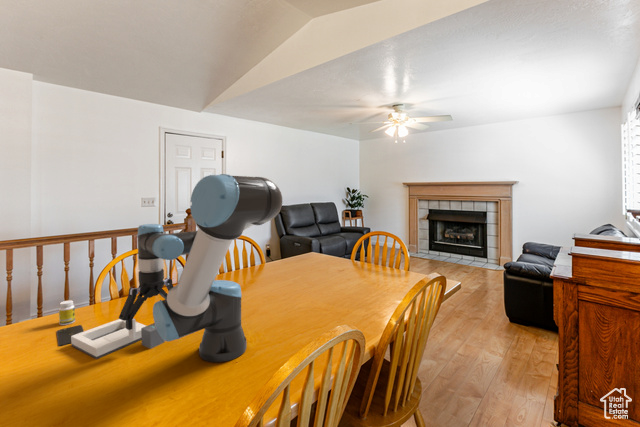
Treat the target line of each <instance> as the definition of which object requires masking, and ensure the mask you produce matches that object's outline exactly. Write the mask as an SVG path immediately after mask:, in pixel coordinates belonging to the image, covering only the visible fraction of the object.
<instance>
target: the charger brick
mask: <svg viewBox="0 0 640 427" xmlns="http://www.w3.org/2000/svg"><path fill="white" fill-rule="evenodd" d="M141 334H142V340H141V346H143V347H145V348H148V349H151V350H152V349H154V348H155V347H158V346H160V345H162V344H163V343H165V342H166V341H165V340H163V339H162V338H161V337H160V335H159V333H158V331H157V329H156V326H155V322H154V323H152V324H151V323H150V324H148V325H146V327H143V328H141Z"/></svg>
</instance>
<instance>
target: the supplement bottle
mask: <svg viewBox="0 0 640 427" xmlns="http://www.w3.org/2000/svg"><path fill="white" fill-rule="evenodd" d="M75 308H76V307H75V305H74V301H73V300H72V299H70V300H64V301H61V302H60V303H59V308H58V319H59V325H60V326H66V325H67V326H69V325H70V324H74V323H75V322H76V311H75V310H76V309H75Z"/></svg>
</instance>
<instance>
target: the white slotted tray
mask: <svg viewBox="0 0 640 427" xmlns="http://www.w3.org/2000/svg"><path fill="white" fill-rule="evenodd" d="M135 322H136V339H131V338H129V332H128V330H127V329H126V320H125V321H123V320H121V319H119V318H118V319H116V320H113V321H110V322H107V323H104V324H101V325H99V326H96V327H94V328H93V327H92V328H90V329H87V330H83V331H84V332H81V333H78V334H76V335H73V336H71V344H70V345H71V347H73V348H75V349H76V350H78V351H80V352H82V353H84V354H85V355H88V356H90V357H91V358H93V359H95V360H99V359H101V358H104V357H105V356H108V355H110V354H112V353H114V352H117V351H119V350H122V349H124V348H127V347H128V346H130V345H132V344H135V343H137V342H139V341H142V334H141V328H143V327H146V326H147V325H145V324H143V323H140V322H138V321H135Z"/></svg>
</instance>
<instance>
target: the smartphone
mask: <svg viewBox="0 0 640 427" xmlns="http://www.w3.org/2000/svg"><path fill="white" fill-rule="evenodd" d="M84 331H85V330H84V327H83V325H81V324H78V325H74V326H70V327H66V328H65V327H64V328H61V329H58V330H56V338H57V345H58V346H57V347H63V346H67V345H72V344H71V336H73V335H76V334H78V333H81V332H84Z"/></svg>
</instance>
